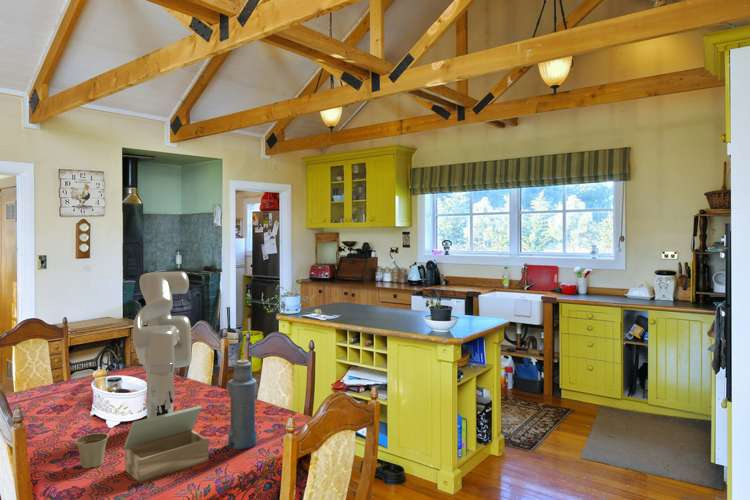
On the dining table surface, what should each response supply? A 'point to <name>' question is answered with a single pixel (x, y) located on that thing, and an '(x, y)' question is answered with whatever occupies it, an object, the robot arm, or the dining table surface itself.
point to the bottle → (242, 407)
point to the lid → (162, 426)
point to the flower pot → (92, 449)
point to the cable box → (166, 455)
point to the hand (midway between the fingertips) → (162, 423)
